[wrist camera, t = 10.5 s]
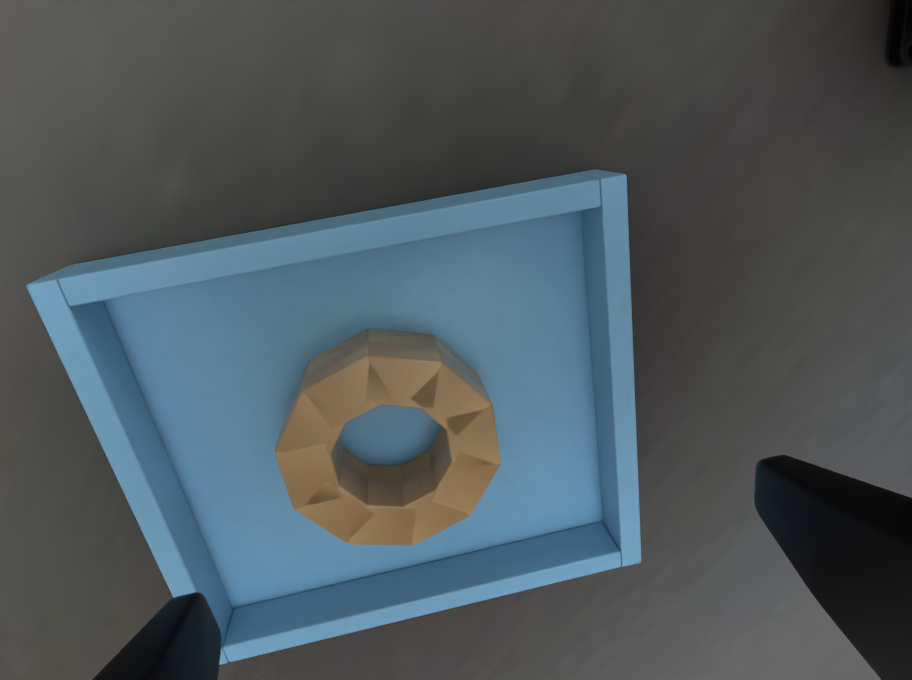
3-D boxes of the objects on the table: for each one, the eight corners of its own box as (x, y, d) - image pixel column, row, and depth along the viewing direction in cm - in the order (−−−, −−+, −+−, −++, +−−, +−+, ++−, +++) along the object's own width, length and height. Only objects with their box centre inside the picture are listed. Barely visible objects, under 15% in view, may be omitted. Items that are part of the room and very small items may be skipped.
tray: (596, 168, 18) (627, 173, 16) (617, 523, 23) (641, 562, 21) (68, 265, 16) (23, 284, 14) (221, 616, 22) (206, 668, 20)
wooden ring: (468, 308, 18) (482, 332, 16) (495, 482, 21) (510, 523, 19) (264, 348, 18) (249, 379, 16) (318, 522, 20) (312, 569, 18)
